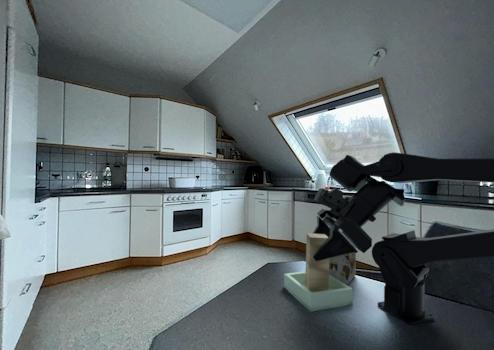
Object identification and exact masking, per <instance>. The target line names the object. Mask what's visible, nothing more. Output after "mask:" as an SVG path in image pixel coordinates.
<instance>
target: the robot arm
mask: <svg viewBox="0 0 494 350" xmlns="http://www.w3.org/2000/svg"><path fill="white" fill-rule="evenodd" d="M329 177H330V178H331V179H332V180H333V181H335V182H336V183H337V184H339V185H340V186H341V187H342V188H344V189H345V191H348V192H353V191H355V193H354V194H353V195H351V196H344V192H343V190H340V189H338V188H332V189H331V190H328V189H325V188H323V187H322V188H320V187H319V189H318V191H317V193H316V195H315V197H314V198H313V200H312V201H314V202H315V203H317V204H320V205H323V206H325V207H327V208H321V209H320V210H319V211H317V213H316V215H317V216H316V223H317V224H316V227H315V229H314V231H313V232H312V233H314V234H325V235H326V236H328V238H327V240H326V241H325V242H324V243H323V244H322V246H321V247H320V248H319V249H318V250H317V251H316V253H315V254H314V255H313V258H314V259H315V260H316V261H320V260H324V259H327V258H331V257H335V256H339V255H344V254H349V253H354V252H355V253H356V254H357V253H359V252H362V254H365V253H366V252H367V251H368V250H369V249H371V255H372V259H373V261H374V263H375V264H376V266H378V269H379V271H380V274H381V277H382V279H383V281H385V282H384V287H383V289H384V290H383V293H384V294H383V301H378V302H377V307H380V308H381V309H383V310H385V311H386V312H388V313H389V314H391V315H393V316H395V317H396V318H397V319H399V320H401V321H403V322H404V323H406V324H408V325H416V324H420V323H423V322H428V321H431V320H434V319H435V316H434V315H433V314H431V313H430V312H427V311H426V310H425V309H426V308H425V307H426V296H425V295H426V293H425V292H426V282H425V281H426V280H425V278H427V276H428V273H429V271H430V268H429V267H428V266H427V264H430V263H434V262H446V261H458V260H472V259H473V260H474V259H487V258H488V259H489V258H494V229H486V230H485V229H484V230H478V231H471V232H465V233H457V234H449V235H443V236H442V235H441V236H433V237H419V236H417V235H416V231H415V230H414V229H413V230H410V231H407V232H405V233H395V232H393V233H390V234H387V235H384V236H382V237H381V240H380V241H379V240H378V241H377V242H375V243H374V244H373V239H372V237H371V236H370V235H369V234H368V233H367V232H366V231H365V230H364V229H363V228H362V227H363V226H364V225H365V224H367V223H368V222H371V223H374V222H375V221H376V220H377V218H376V217H375V216H376V215H377V214H378V213H379V212H380V211H381V210H383V209H384V208H385V207H386V206H387V205H388V204H390V203H391V202H392V201H393V202H394V203H395V204H397V205H398V206H400V207H402V206H404V204H405V202H406V198H405V188H395V187H394V186H392V185H391V184H389V183H394V184H395V183H397V184H409V183H421V182H431V181H455V182H456V181H457V182H458V181H459V182H472V183H474V182H477V183H493V184H494V158H437V157H429V156H423V155H417V154H412V153H411V154H410V153H409V154H408V153H403V152H401V153H400V152H388V153H385V154H384V155H383V156H381V158H380V159H379V160H378V161H376V162H372V163H369V164H366V165H365V164H364V163H362V162H360V161H358V160H357V159H356V158H355V157H354V156H352V155H350V154H346V156H344V158H343V159H341V160H339V161H337V163H335V164H333V166H332V167H331V169H330V171H329ZM374 177H375V178H374ZM376 178H381V179H382V180H378V179H376ZM387 182H389V183H387ZM328 208H329V209H328ZM372 245H373V246H372ZM355 248H356V249H355Z"/></svg>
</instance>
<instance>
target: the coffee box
mask: <svg viewBox="0 0 494 350" xmlns="http://www.w3.org/2000/svg"><path fill="white" fill-rule="evenodd" d="M355 249H356V250H357V248H355ZM356 261H357V253H355V252H354V253H349V254H344V255H339V256H335V257H331V258H329V275H330V276H332V277H334V278H336V279H337V280H339V281H341V282H342V283H344V284H346V285H348V284H349V283H350V282H351V281H352V280H353V278H354V276H355V277H356V272H357V271H356V268H357V267H356V265H357V264H356Z"/></svg>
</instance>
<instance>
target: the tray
mask: <svg viewBox="0 0 494 350" xmlns="http://www.w3.org/2000/svg"><path fill="white" fill-rule="evenodd" d="M305 277H306V270H305V271H298V272H287V273H283V287H284V289H285V290H286V291H287V292H288V293H290V294H291V295H292V297H294V298H295V299H296V300H297V301H298V302H299V303H300V304H302V306H303V307H304V308H306V309H307V310H308V311H309V312H316V311H323V310H328V309H332V308H333V309H334V308H339V307H345V306H349V305H353V304H354V303H353V302H354V288H352V287H351V286H349V285H348V284H344V283H342V282H341V281H339V280H337V279H336V278H334V277H332V276H330V275H329V290H326V291H319V292H310V291H309V290H308V289H307V288H305Z"/></svg>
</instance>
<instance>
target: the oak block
mask: <svg viewBox="0 0 494 350" xmlns="http://www.w3.org/2000/svg"><path fill="white" fill-rule="evenodd" d="M327 238H328V236H326V235H325V234H314V233H313V232H307V233H306V243H305V246H306V247H305V249H306V250H305V271H306V277H305V288H307V289H308V290H309V291H310V292H319V291H326V290H329V258H327V259H324V260H320V261H316V260H315V259H314V258H313V255H314V254H315V253H316V251H317V250H318V249H319V248H320V247H321V246H322V244H323V243H324V242H325V241H326V240H327Z"/></svg>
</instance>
